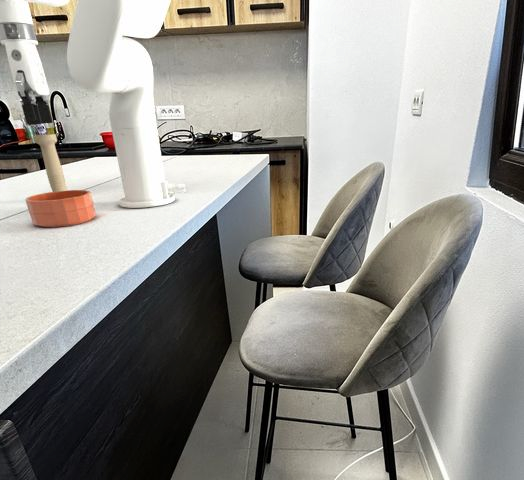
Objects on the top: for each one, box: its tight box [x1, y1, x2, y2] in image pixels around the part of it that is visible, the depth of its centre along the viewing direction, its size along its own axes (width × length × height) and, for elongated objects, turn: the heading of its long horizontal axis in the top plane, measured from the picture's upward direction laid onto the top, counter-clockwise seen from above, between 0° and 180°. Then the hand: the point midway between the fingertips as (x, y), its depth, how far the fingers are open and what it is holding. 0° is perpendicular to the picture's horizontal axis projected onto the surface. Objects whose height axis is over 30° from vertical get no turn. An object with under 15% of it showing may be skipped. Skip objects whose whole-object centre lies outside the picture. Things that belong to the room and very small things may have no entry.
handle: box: [33, 133, 68, 192], centre depth 108 cm, size 5×6×15 cm
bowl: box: [24, 189, 97, 228], centre depth 86 cm, size 12×12×5 cm
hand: (40, 123), depth 103 cm, fingers open, 9 cm apart
